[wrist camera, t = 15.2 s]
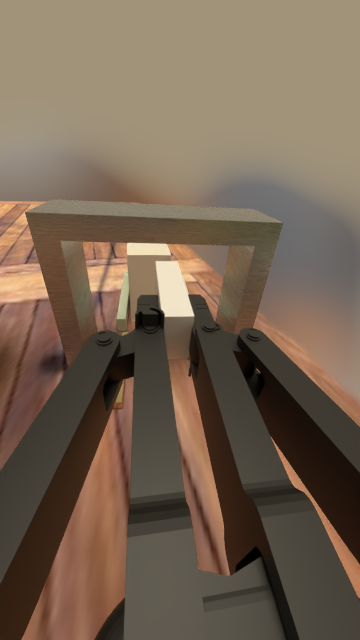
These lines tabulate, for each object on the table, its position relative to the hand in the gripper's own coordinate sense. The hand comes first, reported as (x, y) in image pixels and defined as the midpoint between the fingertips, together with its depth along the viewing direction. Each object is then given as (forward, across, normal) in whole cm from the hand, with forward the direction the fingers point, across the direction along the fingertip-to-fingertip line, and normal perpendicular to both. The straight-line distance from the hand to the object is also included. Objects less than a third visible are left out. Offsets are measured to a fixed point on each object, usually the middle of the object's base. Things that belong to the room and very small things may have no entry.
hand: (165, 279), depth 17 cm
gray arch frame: (+10, +1, -19) cm, 21 cm away
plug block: (+29, -1, -20) cm, 35 cm away
